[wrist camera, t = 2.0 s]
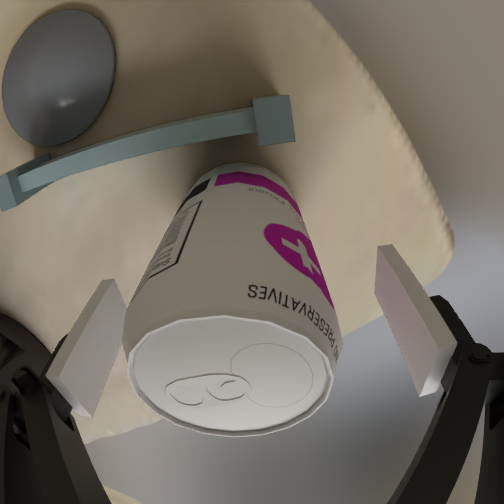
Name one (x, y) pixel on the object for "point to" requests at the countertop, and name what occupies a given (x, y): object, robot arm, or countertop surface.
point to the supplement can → (233, 312)
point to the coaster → (58, 77)
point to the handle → (152, 145)
